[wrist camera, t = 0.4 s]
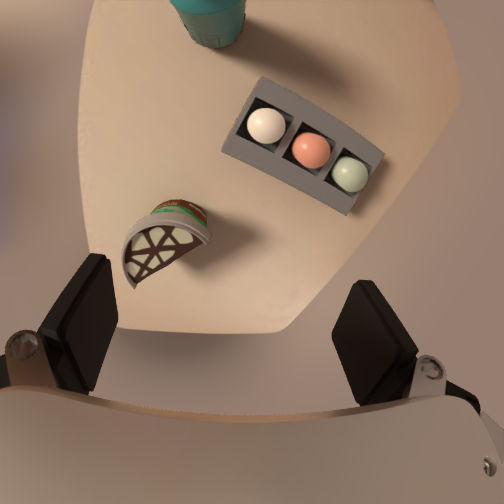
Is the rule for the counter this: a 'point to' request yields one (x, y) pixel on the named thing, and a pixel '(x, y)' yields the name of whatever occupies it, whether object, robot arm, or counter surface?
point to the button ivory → (265, 125)
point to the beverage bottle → (212, 20)
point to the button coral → (309, 149)
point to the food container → (162, 238)
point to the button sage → (349, 173)
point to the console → (296, 120)
